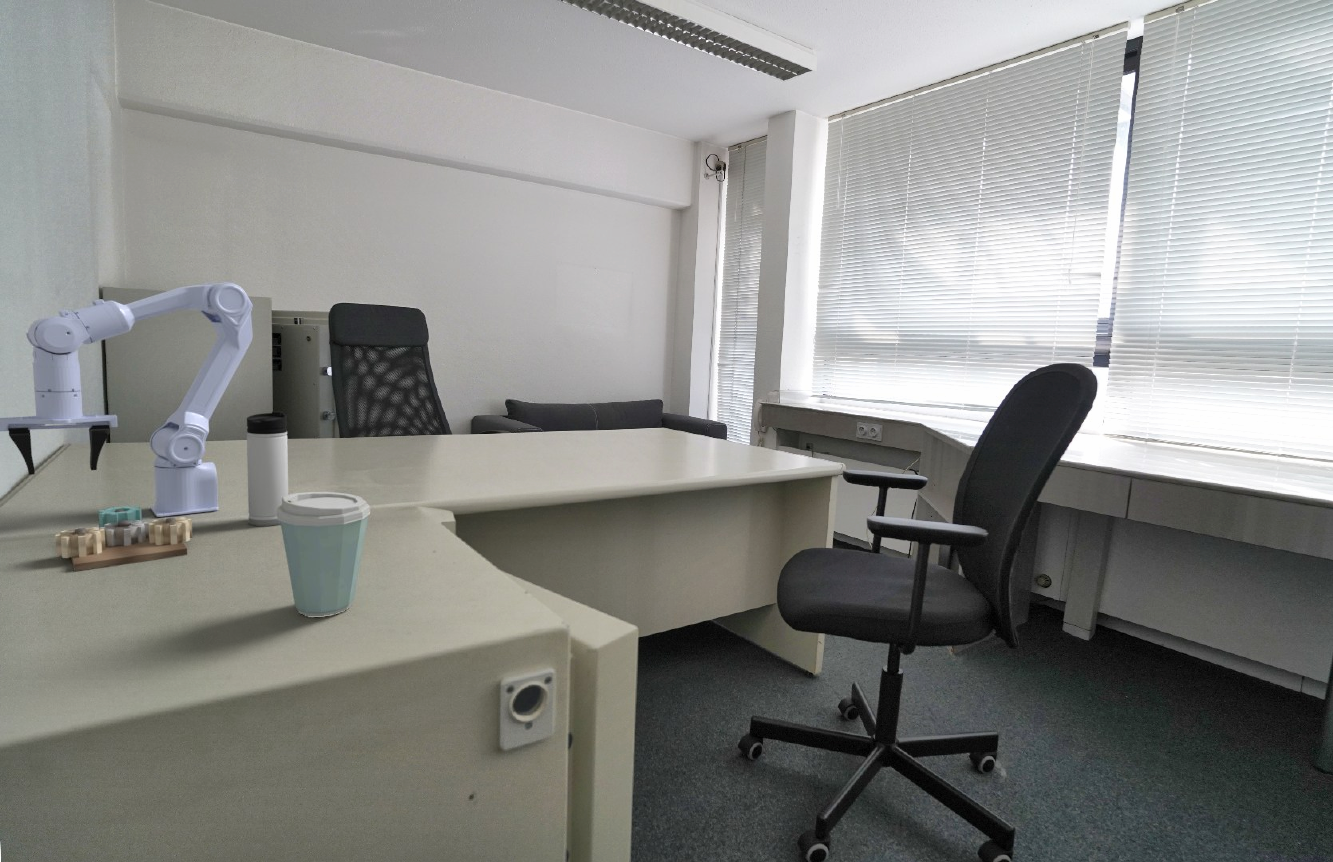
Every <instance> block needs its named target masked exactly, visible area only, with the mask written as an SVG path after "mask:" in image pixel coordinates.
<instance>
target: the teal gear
mask: <svg viewBox="0 0 1333 862" xmlns="http://www.w3.org/2000/svg"><path fill="white" fill-rule="evenodd" d="M106 508H107V509H100V510H98V527H99V529H100V527H104V525H105V524H108V523H109V524H112V523H117V522H119V521H123V520H131V521H136V520H142V521H143V518H142V508H141V507H140V506H129V505H122V506H117V507H113V506H112V507H106ZM120 509H123V510H124V512H115V510H120Z"/></svg>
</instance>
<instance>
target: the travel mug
mask: <svg viewBox="0 0 1333 862" xmlns="http://www.w3.org/2000/svg"><path fill="white" fill-rule="evenodd" d="M287 418H288V417H287V415H286V414H285V413H284V411H271V412H266V413H265V412H264V413H258V414H257V413H256V414H253V415H249V416H248V417H246V427H247V428H246V451H247V453H246V455H247V459H246V460H247V493H248V495H247V498H248V503H247V504H248V523H249V524H250V525H252V526H256V527H257V526H258V527H270V526H279V525H281V523H280V520H278V518H277V516H276V514H277V508H278V507H279V506H281V505H282V497H285V496H287V495H289V472H288V471H289V465H288V463H289V462H288V460H289V456H288V453H289V452H288V451H289V449H288V428H287V426H288V422H287V421H288V420H287Z"/></svg>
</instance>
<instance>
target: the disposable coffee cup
mask: <svg viewBox="0 0 1333 862" xmlns="http://www.w3.org/2000/svg"><path fill="white" fill-rule="evenodd" d="M370 514H371V506H370V505H369V504H368V503H367V501H366V500H365V499H363V497H362V496H358V495H355V494H350V493H343V492H333V491H307V492H296V493H290V494H288V495H287V496H285V497H282V505H281V506H279V507H278V508H277V514H276V516H277V518H278V520H280V523H281V524H280V528H281V533H282V539H283V544H284V545H283V546H284V549H285V556H286V561H287V566H288V567H287V569H288V573H289V580H290V584H291V590H292V595H293V601H294V602H293V603H294V605H295V609H296V610H297V611H298V614H299V613H300V614H303V615H306V616H324V615H330V614H336V613H338V612H341V611H344V610H346V609H347V608H349V609H350V608H351V606H352V604H353V602H354V600H355V595H356V588H357V583H358V577H359V573H360V572H359V571H360V566H361V561H362V555H363V549H364V543H365V537H366V532H367V526H368V521H369V515H370ZM350 605H351V606H350ZM300 614H299V615H300ZM303 615H302V616H303ZM306 616H305V617H306Z"/></svg>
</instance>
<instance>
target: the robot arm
mask: <svg viewBox="0 0 1333 862" xmlns="http://www.w3.org/2000/svg"><path fill="white" fill-rule="evenodd" d="M91 303H92V305H89V306H85V307H82V308H77V309H74V310H71V311H68V310H67V309H62V310H59V311H58V314H59V316H47V317H45V316H44V317H41V318H38V319H36V320H34V321H33V322H32V324H30V325H29V328H28V329H27V330H28V332H26V333H25V336H26V339H27V340H28V342H29V344H31V346H33V347H32V357H33V362H32V371H33V374H32V376H33V387H34V389H33V390H34V406H35V415H31V416H15V417H14V416H13V417H0V432H8V436H9V438H10V439H11V441H12V442H13V443H14V444H15V446H16V447H17V449H18V451H19V453H20V454H21V456H22V458H23V460H24V462H25V465H26V468H27V471H28V475H30V476H31V475H36V474H35V465H34V460H33V453H32V438H31V431H30V430H55V429H58V430H59V429H81V428H82V429H83V428H85V429H87V428H89V429H88V434H89V447H90V449H89V450H90V452H89V453H90V454H89V468H90V470H91V471H97V469H98V461H99V458H100V455H101V451H102V448H103V447H104V444H105V442H106V441H107V439H108V437H109V436H110V435H109V434H110V433H111V429H110V428H118V416H117V414H83V398H82V397H83V396H82V380H81V364H80V362H79V348H80V347H82V345H83V344H84V345H90V344H94V343H98V342H100V341H104V340H107V339H110V338H114V337H116V336H119V335H120V336H121V335H123V334H126V333H127V334H128V333H129V332H131V330H132V328H133V325H134V324H135V323H136V322H139V321H143V320H147V319H150V318H154V317H157V316H163V315H165V314H169V313H173V312H176V311H180V310H191V311H200V313H202V314H203V315H204V316H205V317H206V318H207V319H208V320H209V321H210V323H211V324H212V327H213V329H214V331H215V332H216V334H217V338H216V340H215V342H214V344H213V346H212V347H211V349H210V351H209V352H208V355H207V356H206V358H205V360H204V362H203V363H202V365H201V367H200V369H199V371H198V373H197V374H196V376H195V378H194V380H193V381H192V384H191V385H190V387H189V389H188V391H187V392H186V394H185V395H184V397H183V400H182V401H181V403H180V405H179V407H178V408H177V410H176V411H175V412H173V413H172V414H171V415H170V416H169V417H168V418H167V420H166V422H165V423H164V424H163V425H161V427H159V428H157V429H156V430H155V431H154V432H153V433H152V434H151V436H150V439H149V447H150V449H151V451H152V452H153V453H154V454H155V455H156V456H157V457H156V459H155V460H154V462H153V470H154V471H153V473H154V475H153V476H154V497H155V504H152V505H150V506H149V507H150V510H151V511H152V512H153V513H154V515H155V516H156V517H158V518H160V517H171V516H178V515H188V514H195V513H204V512H206V513H207V512H214V511H218V510H220V509H219V508H220V507H219V499H218V497H219V496H218V494H219V493H218V474H217V468H216V465H215V463H214V462H211V461H210V462H203V460H202V457H203V456H204V454H205V452H206V439H207V437H208V436H209V433H210V427H209V426H210V424H209V421H210V420H211V418H212V415H213V413H214V411H215V409H217V406H218V404H219V402H220V401H221V398H222V397H223V395H224V393H225V391H226V389H227V388H228V386H229V383H230V382H231V380H232V378H233V376H234V374H235V373H236V371H237V369H238V367H239V365H240V363H241V362H242V360H243V358H244V356H245V354H246V352H247V351H248V348H249V347H250V345H251V343H252V340H253V336H254V335H253V325H252V311H253V307H254V305H253V303H252V301H251V299H250V297H249V296H248V293H246V291H245V290H244V288H243V287H241V286H240V285H239V284H237V283H233V282H225V281H224V282H220V283H215V282H206V283H205V282H204V283H202V284H195V285H187V286H181V287H177V288H174V289H171V290H167V291H164V292H161V293H157V294H155V295H151V296H149V297H146V298H145V297H144V298H142V299H139V300H136V301H133V302H129V303H127V304H122V303H119V302H118V301H115V300H112V299H111V300H106V301H105V300H104V299H100V298H99V299H95V300H93V301H91Z"/></svg>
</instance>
